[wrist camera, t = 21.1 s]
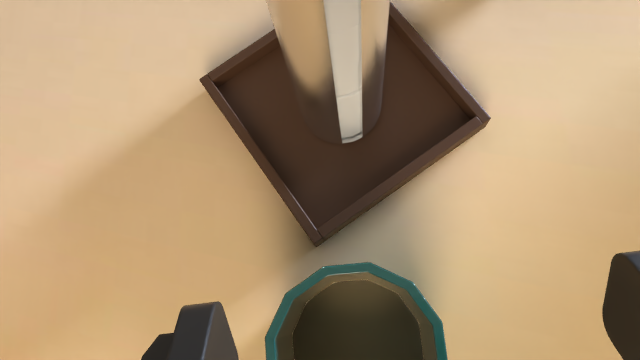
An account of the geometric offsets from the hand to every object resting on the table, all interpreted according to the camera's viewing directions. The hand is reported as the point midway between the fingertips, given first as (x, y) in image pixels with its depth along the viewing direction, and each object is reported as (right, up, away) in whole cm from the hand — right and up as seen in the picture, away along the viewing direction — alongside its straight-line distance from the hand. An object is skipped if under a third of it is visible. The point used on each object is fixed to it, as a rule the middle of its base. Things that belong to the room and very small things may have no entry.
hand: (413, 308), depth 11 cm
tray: (0, +9, +32) cm, 33 cm away
